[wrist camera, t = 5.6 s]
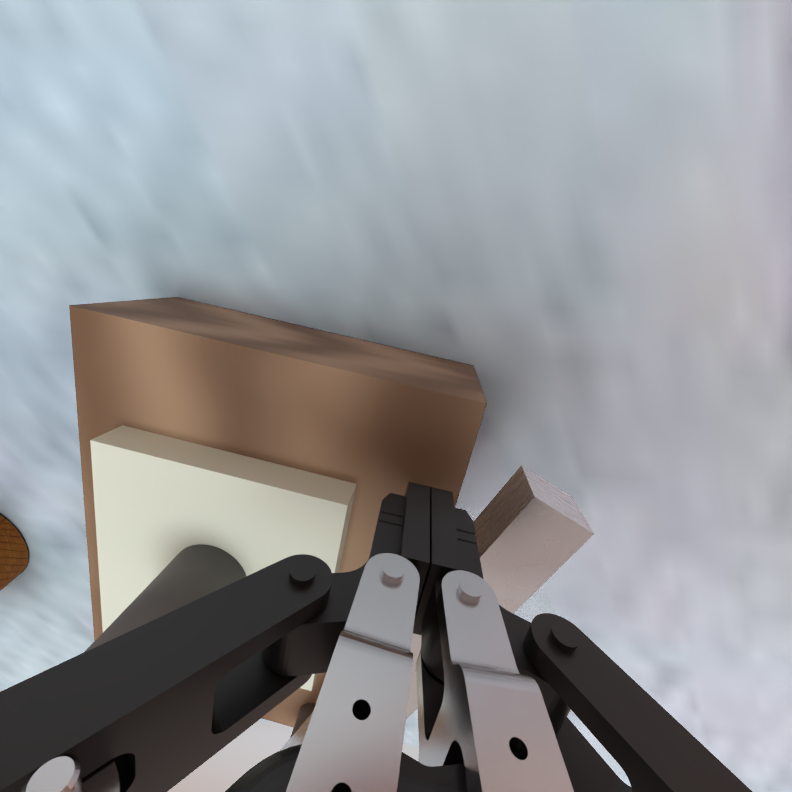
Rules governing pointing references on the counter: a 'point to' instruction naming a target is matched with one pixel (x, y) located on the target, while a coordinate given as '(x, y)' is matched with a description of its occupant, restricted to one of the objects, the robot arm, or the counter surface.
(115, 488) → the lid
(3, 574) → the disposable coffee cup
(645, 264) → the counter surface
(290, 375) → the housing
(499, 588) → the latch bar
